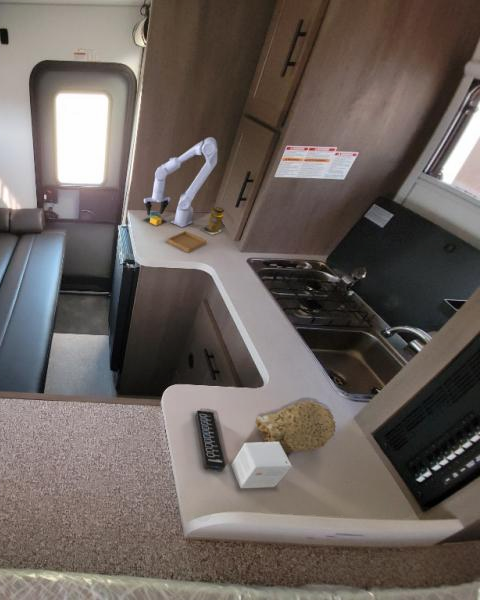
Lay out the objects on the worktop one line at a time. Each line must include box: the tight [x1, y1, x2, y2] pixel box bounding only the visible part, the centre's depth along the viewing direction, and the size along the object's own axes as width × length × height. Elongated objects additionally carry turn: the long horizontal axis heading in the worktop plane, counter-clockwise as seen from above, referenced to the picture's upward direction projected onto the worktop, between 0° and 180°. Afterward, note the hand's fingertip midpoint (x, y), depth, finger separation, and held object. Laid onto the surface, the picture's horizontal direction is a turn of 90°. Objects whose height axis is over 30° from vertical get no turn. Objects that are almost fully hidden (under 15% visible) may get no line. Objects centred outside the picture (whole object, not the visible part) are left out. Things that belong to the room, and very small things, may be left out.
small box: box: [230, 441, 293, 489], centre depth 73 cm, size 8×6×10 cm
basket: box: [166, 230, 207, 253], centre depth 164 cm, size 14×13×2 cm
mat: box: [143, 217, 167, 227], centre depth 185 cm, size 9×9×1 cm
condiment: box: [200, 206, 225, 236], centre depth 173 cm, size 7×8×12 cm
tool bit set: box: [194, 410, 226, 472], centre depth 82 cm, size 4×14×2 cm, turn 173°
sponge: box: [255, 400, 337, 454], centre depth 83 cm, size 13×8×20 cm
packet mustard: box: [149, 216, 163, 226], centre depth 181 cm, size 4×5×3 cm
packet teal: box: [148, 211, 161, 218], centre depth 186 cm, size 4×5×3 cm
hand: (154, 214), depth 185 cm, fingers open, 7 cm apart
